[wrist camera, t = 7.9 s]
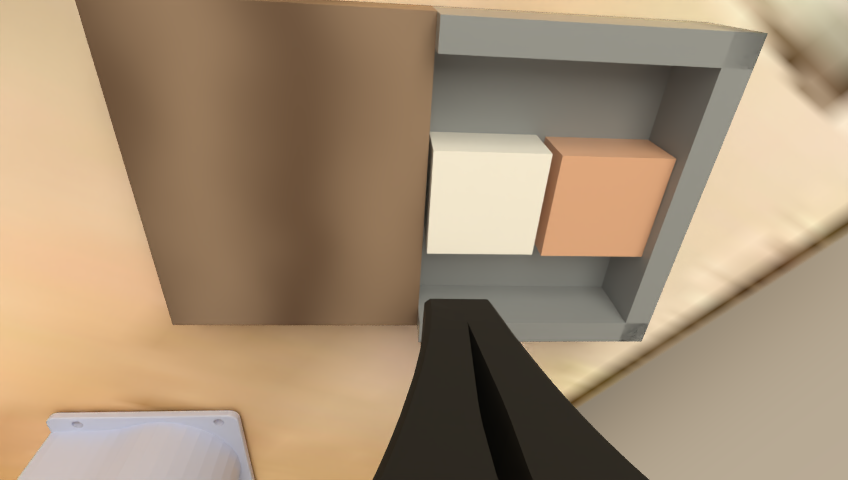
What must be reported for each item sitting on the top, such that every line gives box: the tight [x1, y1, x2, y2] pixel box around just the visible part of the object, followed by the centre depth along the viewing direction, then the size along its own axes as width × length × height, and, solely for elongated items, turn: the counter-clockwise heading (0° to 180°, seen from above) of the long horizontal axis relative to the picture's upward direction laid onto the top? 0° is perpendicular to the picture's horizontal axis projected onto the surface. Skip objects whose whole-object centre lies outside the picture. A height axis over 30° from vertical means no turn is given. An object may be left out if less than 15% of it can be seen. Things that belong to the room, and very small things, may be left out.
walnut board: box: [75, 0, 437, 325], centre depth 17 cm, size 10×12×2 cm
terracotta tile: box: [534, 137, 676, 257], centre depth 17 cm, size 4×4×2 cm
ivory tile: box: [424, 132, 553, 255], centre depth 17 cm, size 4×4×2 cm
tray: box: [417, 6, 768, 342], centre depth 17 cm, size 10×12×3 cm
